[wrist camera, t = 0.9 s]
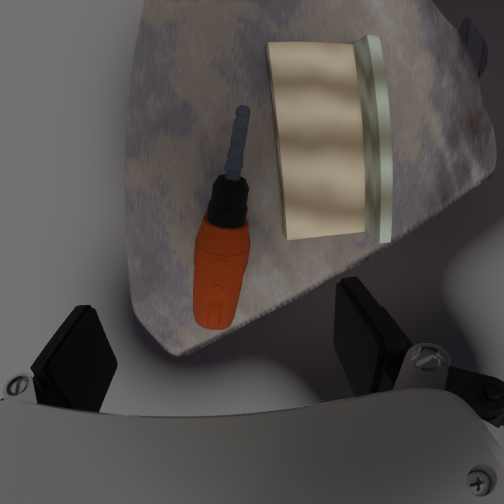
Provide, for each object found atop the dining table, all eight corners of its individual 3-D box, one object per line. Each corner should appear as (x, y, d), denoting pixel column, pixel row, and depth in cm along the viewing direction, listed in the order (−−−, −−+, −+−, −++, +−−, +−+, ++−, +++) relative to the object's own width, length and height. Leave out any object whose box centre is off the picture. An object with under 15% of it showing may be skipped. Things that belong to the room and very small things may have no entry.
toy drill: (266, 108, 28) (288, 113, 15) (238, 263, 37) (238, 356, 24) (219, 101, 27) (200, 100, 14) (199, 258, 36) (180, 349, 23)
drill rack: (266, 47, 26) (272, 29, 21) (358, 49, 27) (380, 36, 21) (284, 234, 35) (293, 253, 29) (369, 225, 35) (392, 241, 29)
